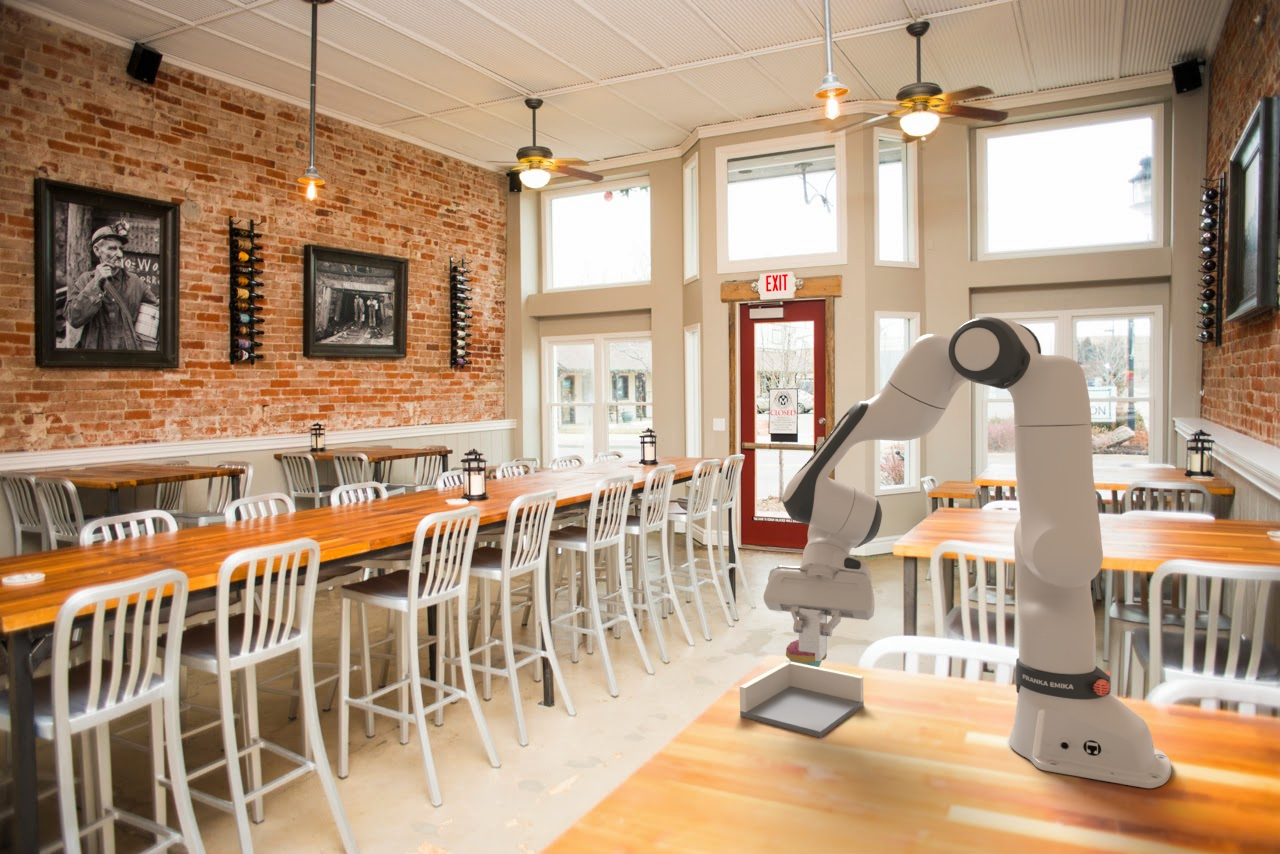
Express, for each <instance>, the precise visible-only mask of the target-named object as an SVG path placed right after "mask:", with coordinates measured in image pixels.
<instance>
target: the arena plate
mask: <svg viewBox="0 0 1280 854" xmlns="http://www.w3.org/2000/svg"><path fill="white" fill-rule="evenodd" d="M864 706H865V703H864V700H863V701H862V702H859V701H854V700H850V699H845V698H841V697H837V696H832V695H828V694H823V693H819V692H815V691H810V690H806V689H802V688H797V687H793V686H789V687H788V688H786V689H784V690H782V691H781V692H779V693H777V694H776V695H774V696H772V697H771V698H769V699H767V700H766V701H764V702H762V703H761V704H759V705H757V706H756V707H754V708H752V709H751V710H749V711H747V712H743V711H740V710H739V714H740V715H739V716H740V717H741V718H745V719H750V720H753V721H756V720H757V722H760V721H761V722H760V723H764V724H767V723H768V724H769V725H771V724H772V726H776V727H779V728H784V729H786V730H791V731H794V732H797V733H803V734H806V735H809V736H813V737H815V738H816V737H817V738H822V737H823V736H824V735H826V734H827V733H829V732H830V731H831V730H833V729H834V728H835V727H836V726H838V725H840V723H842V722H843V721H845V720H846V719H847V718H848V717H850V716H852V714H854V713H856V712H857V711H858V710H860V709H861V708H862V707H864Z"/></svg>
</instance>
